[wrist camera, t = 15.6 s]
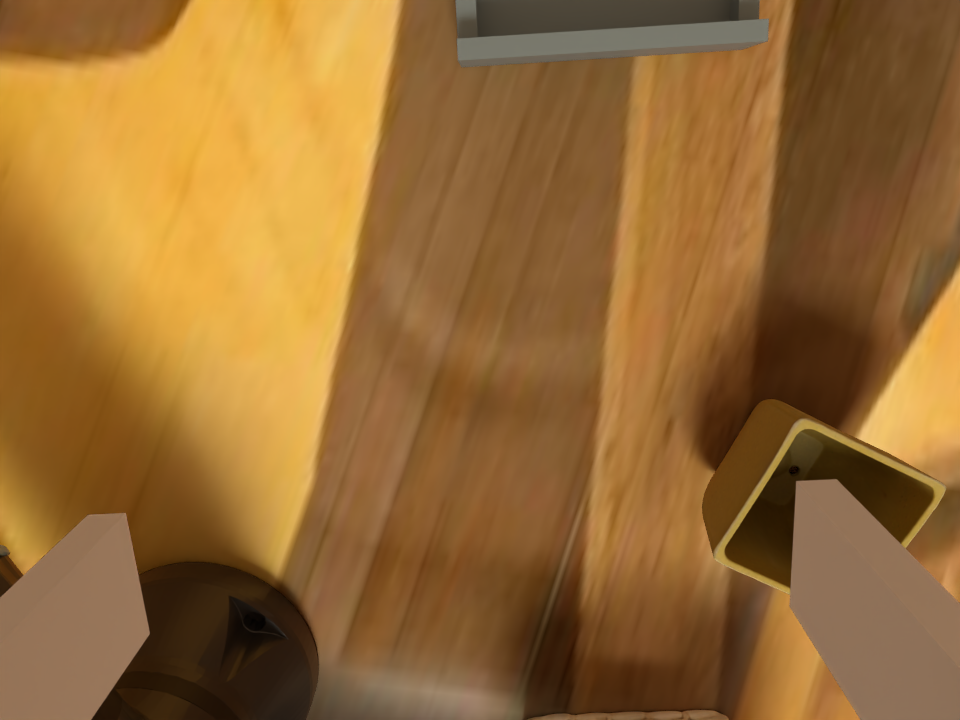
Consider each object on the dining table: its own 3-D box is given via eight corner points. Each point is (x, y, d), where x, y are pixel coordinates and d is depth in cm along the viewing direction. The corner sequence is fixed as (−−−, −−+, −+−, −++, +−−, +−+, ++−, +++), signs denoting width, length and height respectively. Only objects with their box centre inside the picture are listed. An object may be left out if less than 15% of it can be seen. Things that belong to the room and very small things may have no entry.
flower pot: (746, 363, 47) (802, 415, 39) (870, 424, 48) (952, 488, 40) (672, 485, 50) (709, 559, 41) (792, 541, 50) (854, 625, 42)
